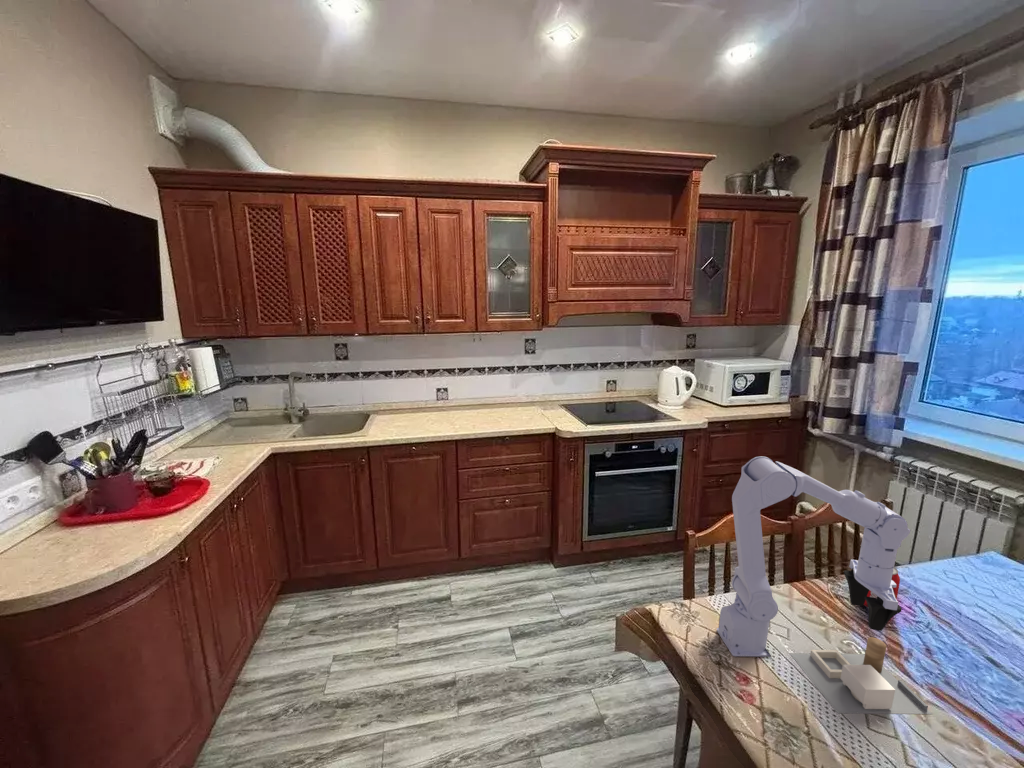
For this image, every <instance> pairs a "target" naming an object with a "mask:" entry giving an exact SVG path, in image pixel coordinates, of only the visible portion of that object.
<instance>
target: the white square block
mask: <svg viewBox="0 0 1024 768" xmlns="http://www.w3.org/2000/svg"><path fill="white" fill-rule="evenodd" d="M840 679H841V680H842V681H843V684H844V685H845V686H847V687H848V688H849V689H850V690H851V691H852V692H853V693H854V694H855V696H856V697H857V698H858V699H859V700H860V701H861V702H862V704H863V707H864V708H865V709H891V708H892V704H893V699H894V694H895V689H894V688H893V687H892V686H891V685H890V684H889V683H888V682H887V681H886V680H885V679H884V678H883V677H882V676H881V675H880V674H879V673H878V672H877V671H876V670H875V669H874V668H873V667H872V666H871V665H843V667H842V672H841V678H840Z"/></svg>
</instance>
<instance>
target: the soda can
mask: <svg viewBox="0 0 1024 768" xmlns="http://www.w3.org/2000/svg"><path fill="white" fill-rule="evenodd" d="M891 580H893V581H894V582H895V583H896V585H897V586H896V588H893V587H892V589H893V592H894V595H895V598H896V600H897V601H898V599H897V598H898V594H899V589H900V583H901V577H900V574H899V570H898V568H897V567H895V566H894V569H893V574H892V579H891ZM867 597H873V598H876V599H877V595H876V594H874V593H873V592H872V591H870V590H869V592H868V594H867ZM863 606H865V607H866V608H868V605H867V602H866V600H865V603H864V605H863Z"/></svg>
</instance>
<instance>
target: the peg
mask: <svg viewBox="0 0 1024 768" xmlns="http://www.w3.org/2000/svg"><path fill="white" fill-rule="evenodd" d="M886 650H887V644H886V643H885V642H884V641H883V640H881V639H879V638H876V637H873V636H870V637H867V642H866V646H865V651H864V654H865V657H864V662H863V664H864V665H871V666H872V667H873V668H874V669H875V670H876V671H877V672H878V673H881V672H882V667H884V662H885V661H884V660H885V657H886V652H887V651H886Z"/></svg>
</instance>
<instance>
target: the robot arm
mask: <svg viewBox="0 0 1024 768" xmlns="http://www.w3.org/2000/svg"><path fill="white" fill-rule="evenodd" d="M740 470H741V475H740V478H739V480H738V482H737V484H736V486H735V488H734V490H733V493H732V495H731V502H732V503H731V505H732V514H733V522H734V533H735V543H736V544H735V545H736V553H737V561H738V566H736V567H735V568H734V575H733V578H732V580H731V585H732V589H733V591H734V592H735V598H734V602H733V603H732V604H730V605H726V606H722V607H721V609H720V613H719V621H718V623H719V624H718V627H717V628H716V632H717V633H718V635H719V637H720V638H721V640H722V641H723V643H724V644H725V646H726V647H727V649H728V650H729V652H730V654H731V656H733V657H764V658H765V657H766V658H767V657H769V658H770V657H772V656H773V655H771V653H770V652H769V651H768V650H767V644H768V643H767V642H768V635H769V628H770V623H771V620H772V619H774V618H776V616H777V615H778V613H779V612H778V611H779V605H778V603H777V601H776V600H775V598H774V597H773V590H772V589H771V586H770V583H769V580H768V578H767V576H766V575H767V574H766V563H765V562H766V561H765V551H764V541H763V540H764V539H763V530H762V517H761V510H762V509H765V508H768V507H770V506H772V505H774V504H777V503H779V502H782V501H784V500H786V499H788V498H789V497H791V496H793V497H798V496H800V495H801V494H802V493H804V494H806V495H809V496H811V497H813V498H816V499H818V500H820V501H822V502H824V503H826V504H830V505H831V509H832V511H833V512H834V513H835V514H836V515H839V516H841V517H842V518H845V519H847V520H849V521H851V522H853V523H854V524H857V525H859V526H861V527H863V535H862V540H861V544H860V551H859V556H858V560H857V559H850V562H849V566H848V567H849V568H850V570H844V571H843V575H844V576H845V579H846V582H847V585H848V586H847V587H848V594H849V600H850V603H851V605H853V606H858V607H864V606H865V605H864V603H865V600H866V602H867V605H868V607H867V609H868V616H867V619H868V620H867V624H868V627H869V629H870V630H873V631H879V632H882V631H883V630H884V628H885V627H886V625H887V624H888V622H889V621H890V620H891V619H892V618H893V617H894V616H896V615H898V614H900V613H901V612H902V607H901V606H900V605H899V601H898V599H897V600H896V598H895V595H894V592H893V589H892V587H893V588H896V586H897V585H896V583H895V582H894V581H893V580H891V579H892V574H893V569H894V567H895V565H896V564H895V563H896V559H897V553H898V549H899V548H900V547H901V546H902V542H903V541H904V540H905V539H907V537H909V535H910V533H911V529H909V527H908V526H909V525H908V522H907V521H906V519H905V518H904V517H903V516H902V515H900V514H898V513H897V512H895V511H894V510H892V509H890V508H889V507H887V506H886V504H884V503H882V502H880V501H873V500H871V499H870V498H869V499H868V498H867V497H866V494H864V493H862V492H861V491H859V490H858V489H857V490H856V489H854V491H853V490H850V489H842V490H839V491H838V490H836V489H835V488H832V487H831V486H829V485H827V484H825V483H823V482H822V481H820V480H817V479H815V478H814V477H811V475H808V474H806V473H804V472H803V471H800V470H798V469H796V468H794V467H792V466H790V465H787V464H784V463H783V462H780V461H775V462H774V461H773V460H772V459H771V458H769V457H767V456H755V457H753V458H751V459H749V460H748V461H747V462H746V463H745V464H744V465H742V466H741V469H740ZM869 590H870V591H872V592H873V593H874V594H876V595H877V599H876V598H873V597H867V594H868V592H869Z"/></svg>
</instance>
